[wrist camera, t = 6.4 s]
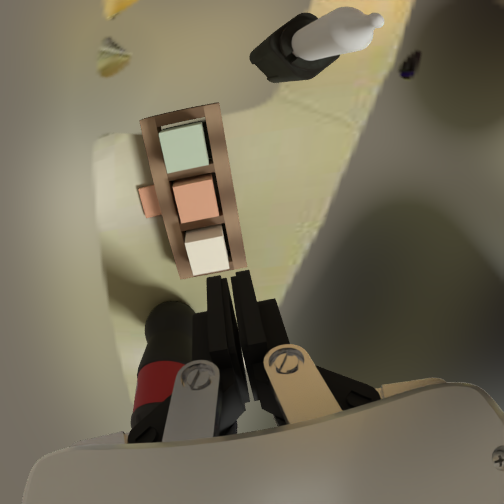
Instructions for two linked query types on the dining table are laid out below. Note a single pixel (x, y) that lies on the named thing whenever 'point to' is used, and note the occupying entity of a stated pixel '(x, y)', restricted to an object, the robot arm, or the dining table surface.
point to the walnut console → (165, 183)
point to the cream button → (206, 249)
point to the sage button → (184, 147)
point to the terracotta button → (196, 197)
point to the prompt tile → (150, 201)
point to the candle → (313, 43)
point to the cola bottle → (162, 356)
